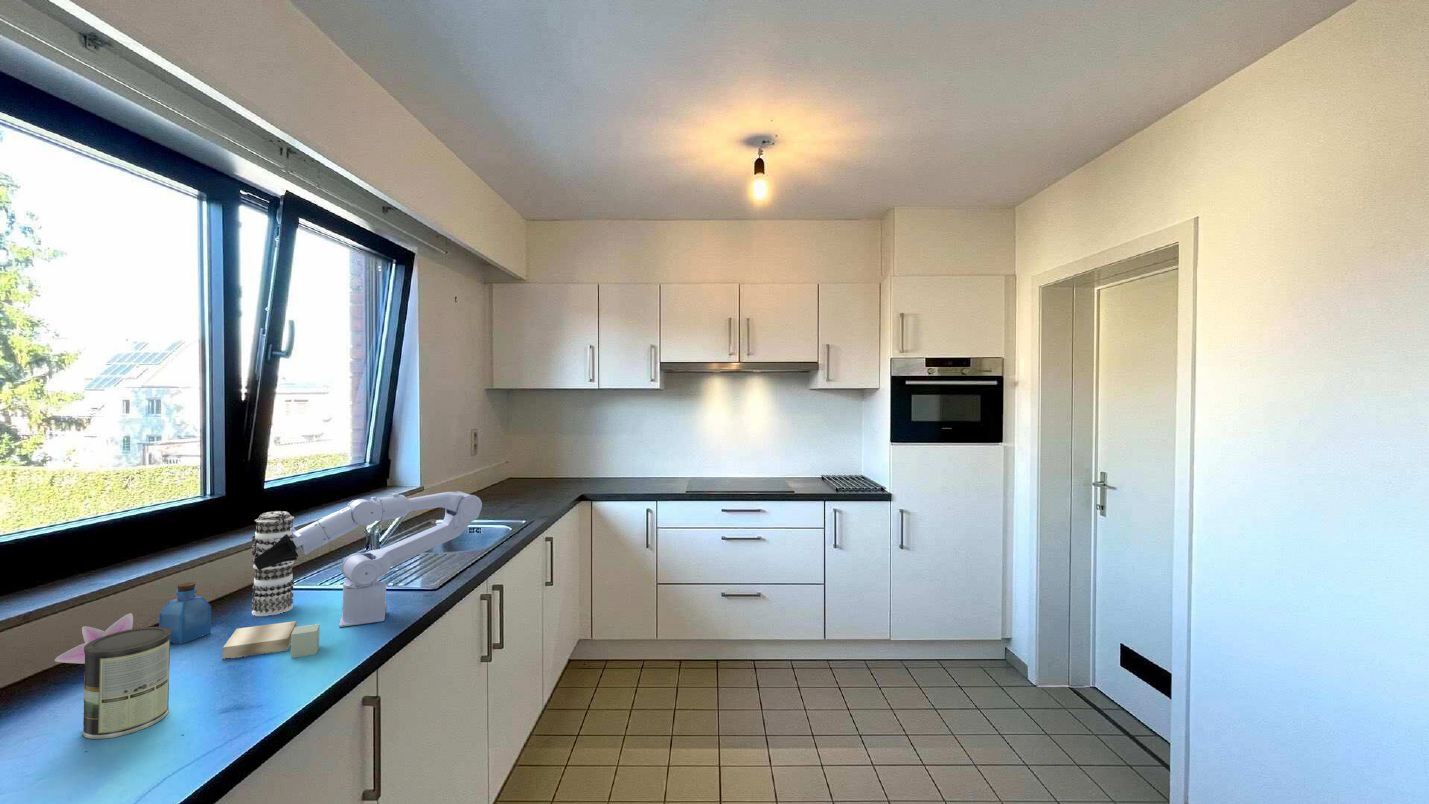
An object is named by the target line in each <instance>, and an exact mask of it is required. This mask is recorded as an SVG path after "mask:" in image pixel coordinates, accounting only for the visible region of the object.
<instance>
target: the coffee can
mask: <svg viewBox="0 0 1429 804" xmlns="http://www.w3.org/2000/svg"><path fill="white" fill-rule="evenodd" d="M170 636H171V630H170V629H169V628H166V627H159V626H144V627H137V628H132V629H130V630H125V631H120V632H116V633H113V634H109V635H106V636H103V637H100V638H98V639H95V640H93V641H91V642H89V643H88V644H86V645H85V647H84V653H85V664H84V674H85V677H83V679H84V681H83V683H84V684H83V687H84V689H83V690H84V691H83V724H82V725H83V729H82V736H83V737H84V738H87V739H90V740H104V739H112V738H113V739H114V738H117V737H122V736H126V735H130V734H133V733H135V732H138V731H141V730H145V729H147V728H149V727H151V726H153V725H155V724H157V723H159V722H160V721H162V720H163V719H164V718H166V716H167V715H168V714H169V711H170V707H169V694H170V693H169V692H170V658H171V657H170V654H171V643H170Z"/></svg>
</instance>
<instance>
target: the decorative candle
mask: <svg viewBox="0 0 1429 804" xmlns="http://www.w3.org/2000/svg"><path fill="white" fill-rule="evenodd" d="M294 519H295V517H294V516H292V515H291V514H290V512H288V511H283V510H282V511H281V510H275V511H267V512H263V513H261V514H260V515H259V516H258V518H256V519H254V522H256V526H255V527H256V531H255V532H254V535H253V536H251V541H252V542H253V544H252V545H251V547H252V551H251V555H252V556H254V557H253V558H252V560H251V561H252V564H253V565H252V568H253V569H255V572H254V574H255V575H254V576H255V577H254V578H253V585H252V587H251V589H252V590H253V591H252V593H251V595H252V596H253V597H252V600H251V603H252V606H251V610H252V611H251V615H252V616H254V615H255V616H254V617H269V616H268V615H272V616H276V615H281V614H284V613H283V612H285V613H287V612H290V611H291V610H293V609H294V606H293V603H294V599H293V598H294V592H293V591H294V586H293V585H294V583H295V581H294V580H293V575H294V574H293V564H294V563H295V560H294V561H286V562H282V563H278V564H275V565H273V566H270V567H267V568H264V569H261V570H258V568H257V567H256V565H255V564H254V562H255V561H254V559H255V558H256V557H258V556H259V555H260V554H262V553H263V552H265V551H266V550H268V549H270V548H271V547H272V546H274V545H275V544H276V543H277V542H278V541H279V540H280V539H281V538H282V537H283V536H284V535H286V534H287V535H288V536H289V538H290V539H291V541H292V539H293V536H292V532H291V530H290V528H292V527H294ZM280 613H281V614H280Z"/></svg>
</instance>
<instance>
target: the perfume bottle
mask: <svg viewBox="0 0 1429 804" xmlns="http://www.w3.org/2000/svg"><path fill="white" fill-rule="evenodd" d="M196 585H197V582H195V581H189V582H182V583H178V584H177V585H176V587H177V590H176V591H175V596H176V597H177V598H174V599H171V600H168V602H167V603H166V604H165V605H164V607H163V608H162V609H161V611H160V612H159V618H158V620H159V622H158V623H159V624H158V627H166V628H169V629H170V630H171V636H170V642H174V643H173V644H177V643H179V644H178V645H183V644H185V643H187V642H186V641H188V642H190V640H191V641H193V640H195V639H194V638H196V639H199V638H201V636H202V635H204V636H207V635H209V634H208V633H210V634H211V629H212V624H211V623H212V606H211V605H210V603H209V602H208V601H207V600H206V599H205V598H204V596H198V595H196V593H197V589H198V588H197V587H196ZM206 634H207V635H206ZM198 637H199V638H198ZM202 637H203V636H202ZM192 639H193V640H192ZM184 642H185V643H184Z"/></svg>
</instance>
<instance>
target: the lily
mask: <svg viewBox="0 0 1429 804" xmlns="http://www.w3.org/2000/svg"><path fill="white" fill-rule="evenodd" d="M133 625H134V615H133V613H132V612H131V613H130V612H129V613H127V614H125V615H123V616H122V617H120V618H119V619H118V620H116V621H115V622H113V623H112V624H111V625H110V626H109V627H107V629H105V631H104V630H102V629H99V628H96V627H91V626H86V625H84V626H82V627H81V631H82V632H81V633H82V637H83V641H84V643H81V644H79V645H76V646H75V647H73V648H70V649H69V650H67V651H65V652H63V653H61V654H60V655H58V656H57V657H55V659H54V662H56V663H63V664H64V663H65V664H80V665H81V664H84V665H85V653H84V647H85V645H86V644H88V643H89V642H91V641H93V640H95V639H98V638H100V637H103V636H106V635H109V634H113V633H116V632H120V631H125V630H130V629H133ZM84 677H85V673H84ZM84 677H83V678H84Z"/></svg>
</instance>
